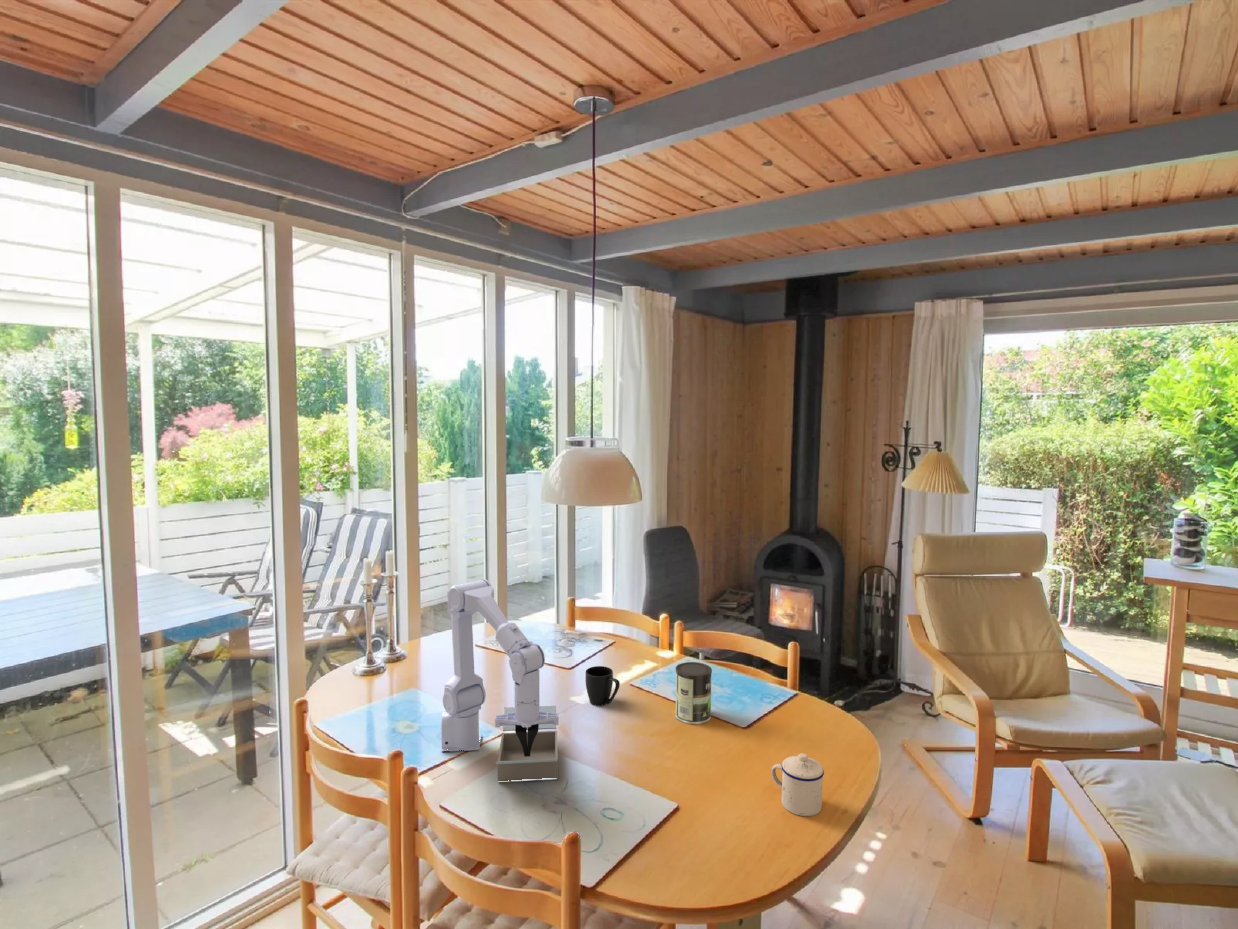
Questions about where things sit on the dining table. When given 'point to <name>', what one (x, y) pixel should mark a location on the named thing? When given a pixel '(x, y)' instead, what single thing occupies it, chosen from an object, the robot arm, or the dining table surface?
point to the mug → (600, 685)
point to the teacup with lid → (800, 784)
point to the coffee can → (693, 692)
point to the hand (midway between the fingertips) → (527, 754)
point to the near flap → (526, 761)
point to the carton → (528, 757)
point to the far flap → (541, 709)
